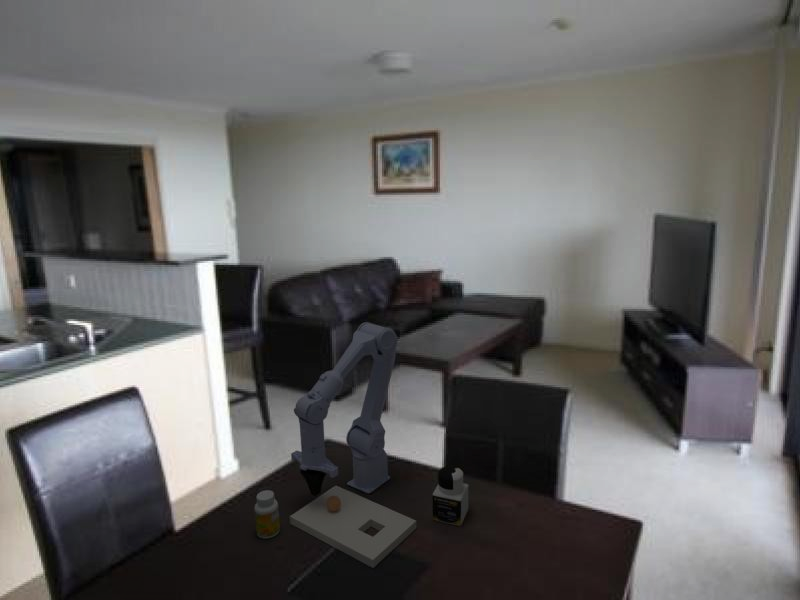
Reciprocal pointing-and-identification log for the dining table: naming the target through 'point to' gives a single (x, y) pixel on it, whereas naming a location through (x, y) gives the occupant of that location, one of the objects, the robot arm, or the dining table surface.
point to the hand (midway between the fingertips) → (315, 493)
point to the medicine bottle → (450, 496)
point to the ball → (333, 503)
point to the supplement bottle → (267, 515)
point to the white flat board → (354, 525)
